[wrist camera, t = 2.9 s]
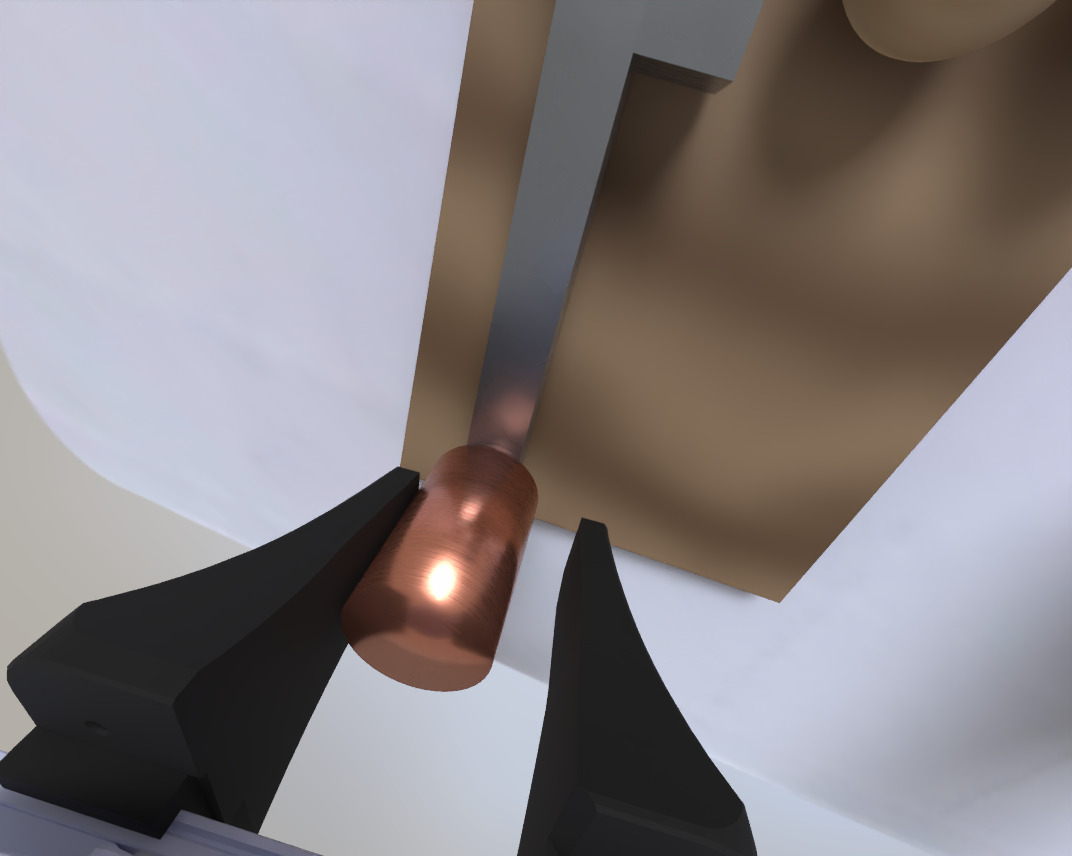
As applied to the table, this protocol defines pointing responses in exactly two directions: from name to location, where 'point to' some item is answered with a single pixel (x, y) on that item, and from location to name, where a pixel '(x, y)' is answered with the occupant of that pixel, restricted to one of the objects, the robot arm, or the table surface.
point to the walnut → (937, 25)
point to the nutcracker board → (756, 277)
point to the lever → (526, 340)
